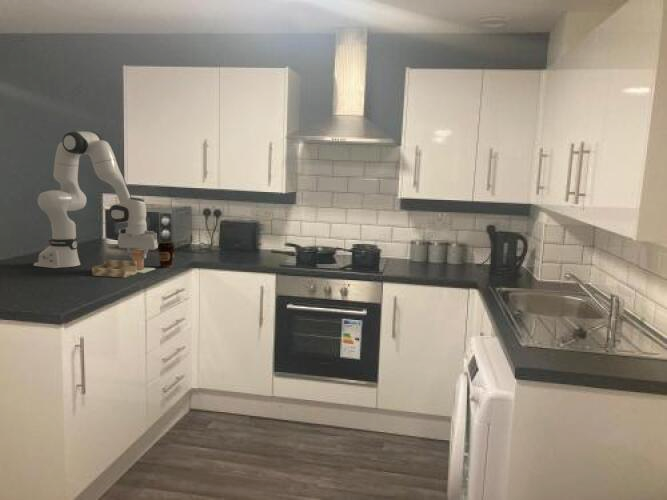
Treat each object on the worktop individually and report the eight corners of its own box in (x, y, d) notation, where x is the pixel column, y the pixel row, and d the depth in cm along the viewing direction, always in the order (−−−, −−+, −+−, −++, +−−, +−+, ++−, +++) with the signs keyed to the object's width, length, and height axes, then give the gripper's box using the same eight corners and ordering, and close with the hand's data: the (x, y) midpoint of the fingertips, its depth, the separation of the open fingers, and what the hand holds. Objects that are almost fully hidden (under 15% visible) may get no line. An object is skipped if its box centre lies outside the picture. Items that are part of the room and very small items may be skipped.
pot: (128, 269, 288) (128, 250, 287) (135, 267, 294) (135, 248, 293) (140, 270, 287) (140, 251, 285) (147, 268, 293) (146, 249, 292)
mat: (121, 271, 286) (121, 270, 286) (133, 267, 298) (133, 266, 298) (143, 273, 284) (143, 272, 284) (155, 269, 295) (155, 268, 295)
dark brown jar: (169, 268, 298) (169, 243, 296) (154, 267, 299) (154, 243, 297) (177, 266, 306) (177, 241, 304) (163, 265, 308) (162, 241, 306)
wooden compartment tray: (92, 275, 275) (91, 262, 274) (105, 271, 286) (105, 259, 285) (124, 277, 272) (124, 264, 271) (137, 273, 283) (136, 261, 282)
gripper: (159, 230, 289) (160, 257, 291) (122, 228, 293) (123, 255, 295) (153, 231, 283) (153, 259, 285) (115, 229, 287) (116, 257, 289)
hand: (137, 257), depth 290 cm, fingers closed on pot, 5 cm apart
